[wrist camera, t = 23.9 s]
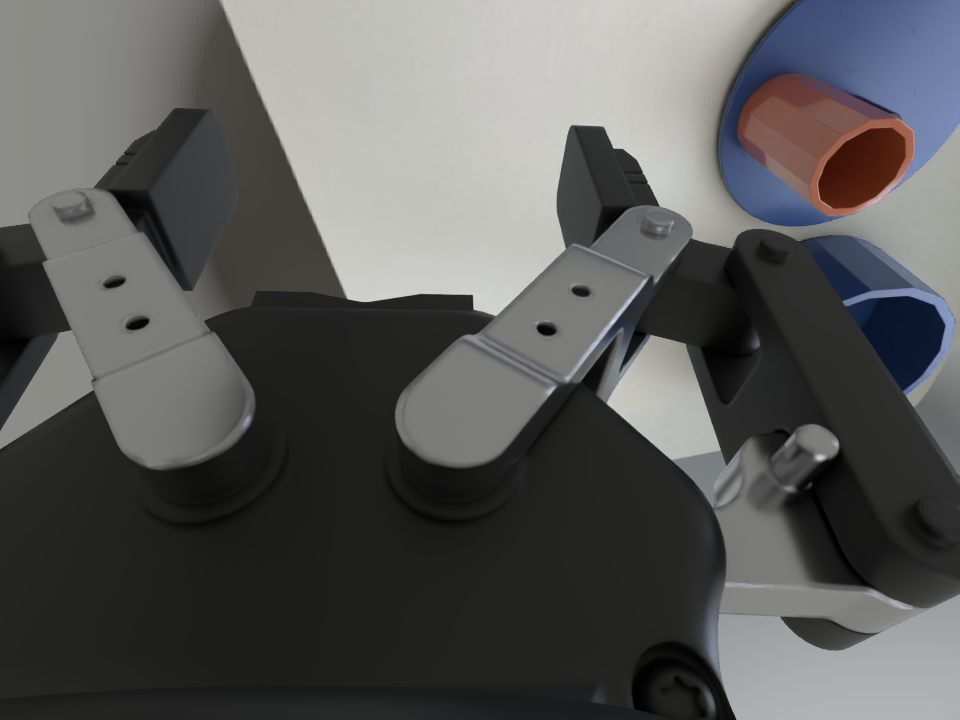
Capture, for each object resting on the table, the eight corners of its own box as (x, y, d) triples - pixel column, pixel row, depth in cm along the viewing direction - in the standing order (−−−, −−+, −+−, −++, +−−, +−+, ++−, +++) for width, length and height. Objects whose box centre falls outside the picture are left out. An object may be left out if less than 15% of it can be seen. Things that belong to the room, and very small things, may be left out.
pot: (734, 241, 47) (783, 297, 41) (923, 229, 48) (1000, 281, 42) (687, 383, 59) (719, 442, 53) (840, 371, 60) (889, 428, 53)
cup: (750, 73, 37) (835, 121, 29) (831, 70, 37) (935, 116, 30) (726, 157, 41) (795, 218, 33) (799, 153, 41) (884, 212, 33)
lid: (761, -48, 33) (806, -39, 29) (1045, -59, 34) (1125, -52, 30) (689, 226, 46) (713, 258, 42) (897, 213, 47) (941, 242, 43)
